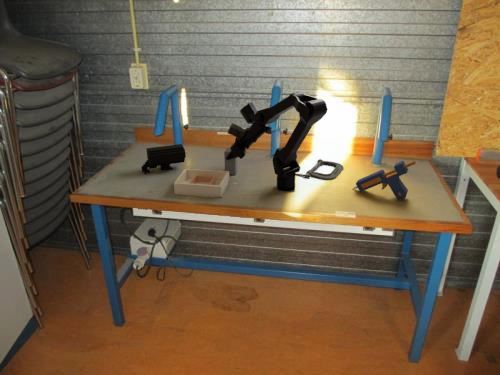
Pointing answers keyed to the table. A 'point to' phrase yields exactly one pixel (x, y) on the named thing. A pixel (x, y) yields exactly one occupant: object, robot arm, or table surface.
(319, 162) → the c clamp
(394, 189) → the glue gun
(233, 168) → the plug
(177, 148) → the security camera
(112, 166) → the table surface
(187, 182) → the box
